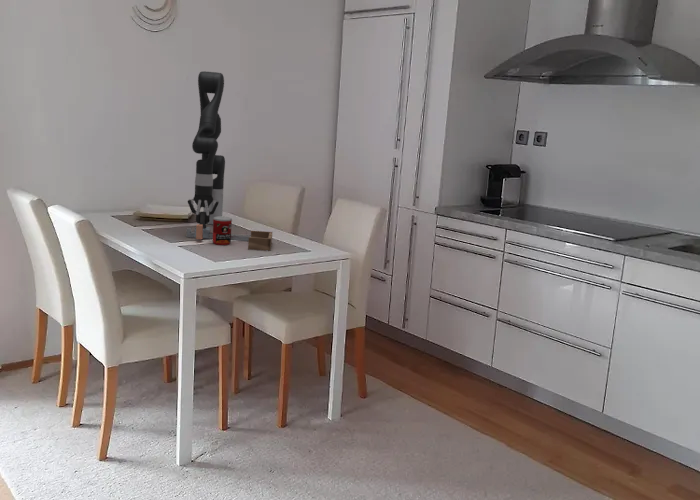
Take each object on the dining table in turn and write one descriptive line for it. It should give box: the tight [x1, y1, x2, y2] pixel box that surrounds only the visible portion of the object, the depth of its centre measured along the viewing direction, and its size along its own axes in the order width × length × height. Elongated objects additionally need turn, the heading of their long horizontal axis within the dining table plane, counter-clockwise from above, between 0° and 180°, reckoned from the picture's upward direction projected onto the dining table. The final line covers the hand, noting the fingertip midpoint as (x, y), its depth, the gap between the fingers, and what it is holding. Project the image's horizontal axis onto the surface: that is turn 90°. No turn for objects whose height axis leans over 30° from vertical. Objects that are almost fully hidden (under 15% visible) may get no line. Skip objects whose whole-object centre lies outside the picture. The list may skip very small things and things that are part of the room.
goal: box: [247, 230, 273, 252], centre depth 284 cm, size 15×9×5 cm, turn 4°
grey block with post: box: [194, 211, 211, 240], centre depth 287 cm, size 13×6×11 cm, turn 4°
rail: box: [185, 227, 251, 242], centre depth 292 cm, size 3×30×4 cm, turn 94°
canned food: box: [212, 215, 233, 246], centre depth 283 cm, size 8×8×11 cm
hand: (202, 223), depth 291 cm, fingers closed on grey block with post, 3 cm apart
